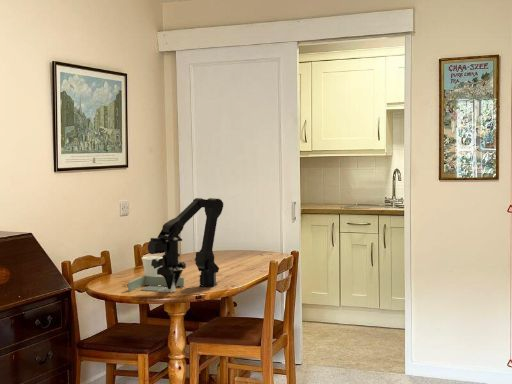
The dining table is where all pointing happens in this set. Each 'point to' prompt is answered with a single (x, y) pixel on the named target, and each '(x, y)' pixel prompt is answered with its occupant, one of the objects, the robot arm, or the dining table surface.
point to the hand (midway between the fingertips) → (171, 287)
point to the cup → (147, 263)
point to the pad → (152, 288)
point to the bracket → (167, 288)
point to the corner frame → (151, 282)
